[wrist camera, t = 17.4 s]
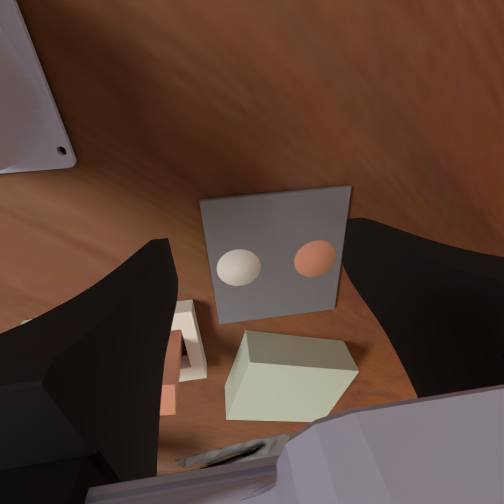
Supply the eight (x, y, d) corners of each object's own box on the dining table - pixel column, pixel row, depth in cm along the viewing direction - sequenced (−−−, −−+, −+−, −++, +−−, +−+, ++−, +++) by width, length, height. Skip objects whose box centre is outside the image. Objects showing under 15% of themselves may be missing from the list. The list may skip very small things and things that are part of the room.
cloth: (356, 440, 44) (363, 456, 42) (307, 478, 49) (311, 494, 47) (205, 413, 35) (205, 433, 33) (166, 464, 40) (164, 483, 38)
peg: (137, 324, 25) (117, 386, 20) (182, 324, 25) (175, 384, 20) (140, 354, 27) (123, 417, 22) (182, 353, 27) (175, 414, 22)
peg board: (23, 320, 23) (12, 334, 22) (192, 299, 24) (191, 311, 23) (67, 384, 28) (60, 398, 26) (207, 364, 29) (206, 377, 27)
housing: (245, 327, 27) (250, 362, 24) (342, 338, 30) (359, 371, 26) (224, 383, 31) (226, 419, 28) (311, 388, 34) (322, 422, 31)
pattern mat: (199, 199, 19) (199, 201, 19) (349, 185, 20) (351, 186, 20) (219, 320, 26) (219, 324, 25) (333, 306, 27) (334, 309, 26)
